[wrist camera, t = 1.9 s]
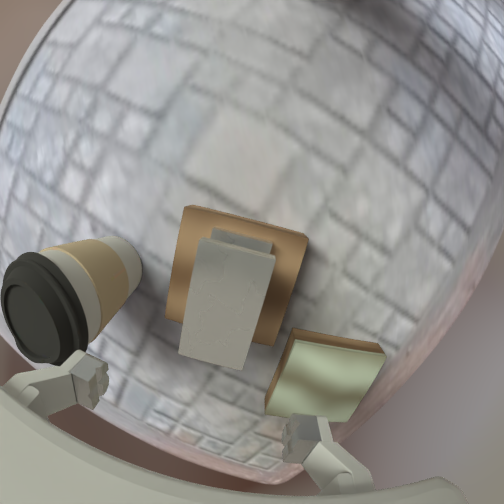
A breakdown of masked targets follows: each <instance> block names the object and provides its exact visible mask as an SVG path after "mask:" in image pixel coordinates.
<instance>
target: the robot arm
mask: <svg viewBox="0 0 504 504" xmlns="http://www.w3.org/2000/svg"><path fill="white" fill-rule="evenodd" d="M107 371H108V363H106V362H104V361H102V360H100V359H98V358H96V357H94V356H92V355H90V354H87V353H85V352H83V351H82V350H80V349H79V350H76V351H75V352H74V353H73V354H72V355H71V356H70V357H69V358H68V359H67V360H66V361H65V362H64V363H63V364H62V365H61V366H60V367H58V366H54V367H49V368H44V369H39V370H34V371H29V372H24V373H18V374H16V375H14V377H12V378H11V379H10V380H9V381H8V382H7V383H6V384H5V385H4V386H2V387H1V386H0V504H468V502H467V499H466V497H465V495H464V493H463V491H462V490H461V489H460V488H459V487H458V486H456V485H454V484H453V483H451V482H450V481H448V480H447V479H445V478H443V477H433V478H429V479H426V480H422V481H419V482H414V483H410V484H406V485H402V486H398V487H393V488H387V489H381V490H376V489H375V486H374V483H373V480H372V476H371V473H370V471H369V470H368V469H367V468H366V467H365V466H363V465H362V464H361V463H360V462H359V461H357V460H356V459H355V458H354V457H353V456H351V454H349V453H348V452H347V451H346V450H345V449H344V448H343V447H342V446H340V445H339V444H338V443H337V442H333V438H332V434H331V430H330V427H329V423H328V419H327V417H326V416H321V415H309V414H299V413H293V414H292V415H291V416H290V418H289V421H290V423H288V424H286V425H285V427H284V429H283V433H282V444H283V445H284V446H285V447H284V449H283V451H282V453H283V462H287V463H298V464H301V465H302V466H303V467H304V469H305V470H306V471H307V473H308V474H309V475H310V476H311V478H312V479H313V480H314V481H315V483H316V484H317V485H318V486H319V488H320V489H321V490H322V491H321V492H320V493H319V494H318V495H316V496H282V495H265V494H255V493H246V492H239V491H232V490H225V489H219V488H214V487H209V486H204V485H200V484H196V483H191V482H187V481H183V480H180V479H176V478H172V477H169V476H165V475H162V474H159V473H156V472H153V471H150V470H147V469H144V468H141V467H138V466H136V465H133V464H131V463H128V462H126V461H123V460H121V459H118V458H116V457H114V456H111V455H109V454H107V453H105V452H103V451H100V450H98V449H96V448H94V447H92V446H90V445H88V444H86V443H84V442H82V441H80V440H79V439H77V438H75V437H73V436H71V435H70V434H68V433H66V432H64V431H62V430H61V429H59V428H57V427H56V426H54V425H53V424H51V423H50V422H49V419H48V415H50V414H53V413H55V412H58V411H60V410H63V409H65V408H67V407H70V406H72V405H74V404H77V403H79V404H81V405H83V406H85V407H87V408H90V409H92V410H94V408H95V407H96V405H97V404H98V402H99V396H102V395H104V394H105V392H106V390H107V388H108V385H109V376H108V375H107V373H106V372H107Z"/></svg>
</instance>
